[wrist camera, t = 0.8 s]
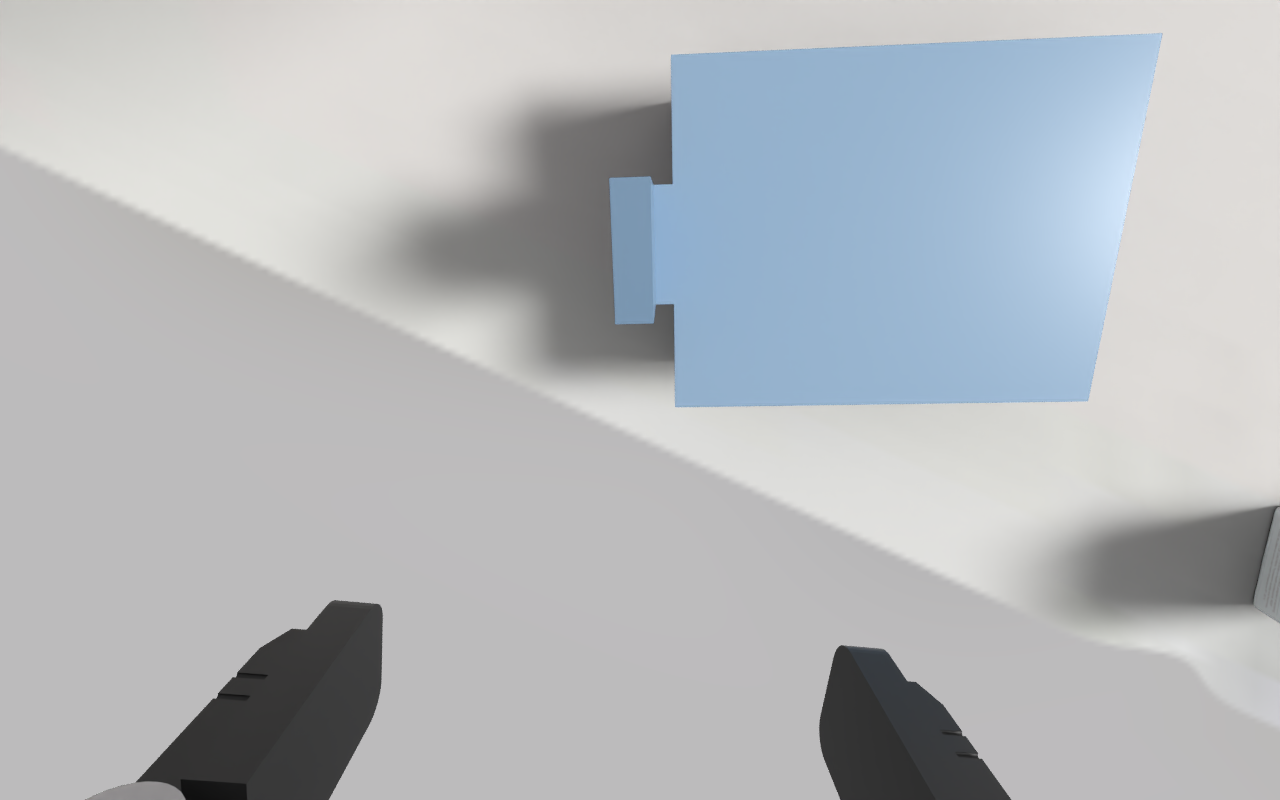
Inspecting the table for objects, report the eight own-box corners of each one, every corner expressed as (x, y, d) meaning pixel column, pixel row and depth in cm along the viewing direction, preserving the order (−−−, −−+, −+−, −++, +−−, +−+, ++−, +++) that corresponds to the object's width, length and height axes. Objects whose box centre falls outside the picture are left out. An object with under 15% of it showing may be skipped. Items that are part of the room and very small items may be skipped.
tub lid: (612, 68, 25) (593, 15, 19) (1127, 46, 24) (1297, -18, 18) (624, 396, 29) (612, 447, 23) (1062, 390, 28) (1180, 441, 22)
